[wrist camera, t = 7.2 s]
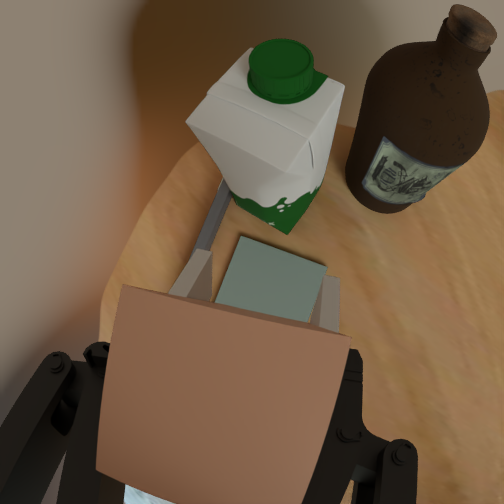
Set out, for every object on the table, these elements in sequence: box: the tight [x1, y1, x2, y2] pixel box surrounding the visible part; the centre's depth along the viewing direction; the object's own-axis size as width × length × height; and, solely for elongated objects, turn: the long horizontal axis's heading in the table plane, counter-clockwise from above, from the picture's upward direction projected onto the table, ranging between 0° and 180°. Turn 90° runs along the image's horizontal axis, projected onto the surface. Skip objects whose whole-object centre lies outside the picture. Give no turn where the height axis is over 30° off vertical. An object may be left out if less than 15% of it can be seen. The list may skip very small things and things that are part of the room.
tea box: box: [96, 284, 352, 504], centre depth 12 cm, size 5×5×12 cm
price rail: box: [189, 178, 232, 260], centre depth 35 cm, size 28×1×2 cm, turn 159°
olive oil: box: [345, 4, 497, 214], centre depth 22 cm, size 11×11×25 cm
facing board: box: [215, 236, 328, 322], centre depth 33 cm, size 16×10×1 cm, turn 159°
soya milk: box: [186, 39, 345, 235], centre depth 26 cm, size 9×9×20 cm
